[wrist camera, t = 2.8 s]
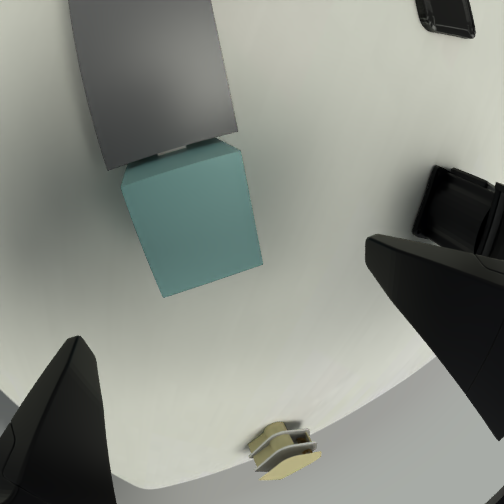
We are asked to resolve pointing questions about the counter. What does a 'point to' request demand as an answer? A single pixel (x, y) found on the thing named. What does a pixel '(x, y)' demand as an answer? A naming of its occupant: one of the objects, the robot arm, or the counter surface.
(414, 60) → the counter surface
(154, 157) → the block
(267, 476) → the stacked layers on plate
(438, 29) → the phone
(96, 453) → the robot arm
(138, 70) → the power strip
